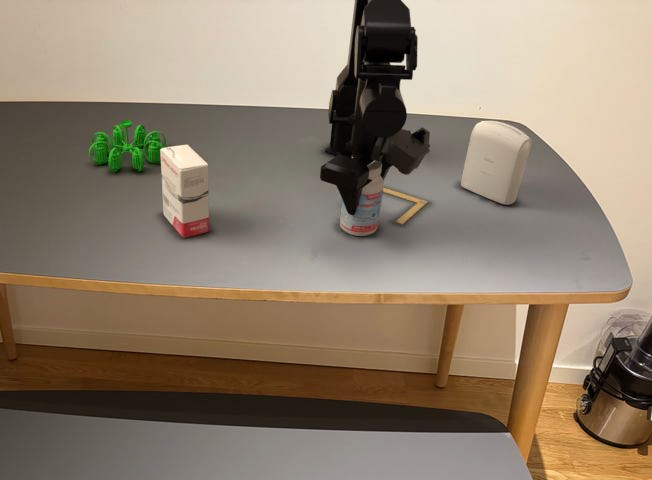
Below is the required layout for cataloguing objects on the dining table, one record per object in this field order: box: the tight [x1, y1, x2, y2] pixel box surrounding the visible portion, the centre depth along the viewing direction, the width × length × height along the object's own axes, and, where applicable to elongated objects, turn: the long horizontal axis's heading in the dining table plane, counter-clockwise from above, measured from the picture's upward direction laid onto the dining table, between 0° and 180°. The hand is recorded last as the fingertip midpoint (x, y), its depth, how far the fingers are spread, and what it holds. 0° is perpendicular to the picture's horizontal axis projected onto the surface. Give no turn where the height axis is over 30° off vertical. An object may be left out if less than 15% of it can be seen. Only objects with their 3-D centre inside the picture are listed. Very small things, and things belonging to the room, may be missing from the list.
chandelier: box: [88, 119, 167, 173], centre depth 137 cm, size 15×15×7 cm
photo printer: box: [460, 120, 532, 206], centre depth 125 cm, size 10×4×12 cm, turn 39°
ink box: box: [160, 143, 210, 239], centre depth 117 cm, size 8×5×12 cm, turn 26°
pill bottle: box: [339, 161, 385, 237], centre depth 116 cm, size 6×6×11 cm
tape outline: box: [383, 187, 429, 226], centre depth 125 cm, size 10×9×1 cm
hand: (361, 206), depth 117 cm, fingers closed on pill bottle, 6 cm apart
